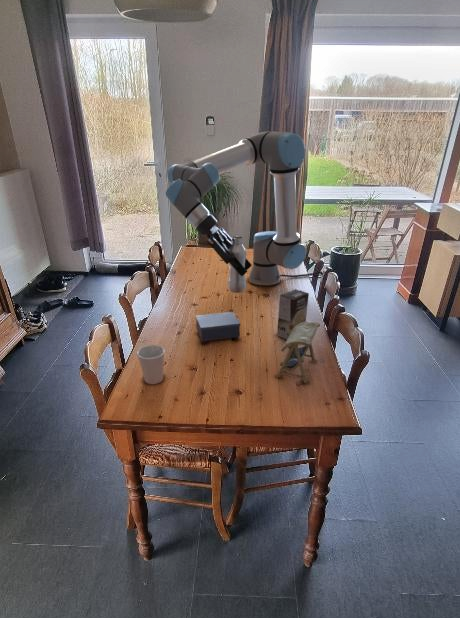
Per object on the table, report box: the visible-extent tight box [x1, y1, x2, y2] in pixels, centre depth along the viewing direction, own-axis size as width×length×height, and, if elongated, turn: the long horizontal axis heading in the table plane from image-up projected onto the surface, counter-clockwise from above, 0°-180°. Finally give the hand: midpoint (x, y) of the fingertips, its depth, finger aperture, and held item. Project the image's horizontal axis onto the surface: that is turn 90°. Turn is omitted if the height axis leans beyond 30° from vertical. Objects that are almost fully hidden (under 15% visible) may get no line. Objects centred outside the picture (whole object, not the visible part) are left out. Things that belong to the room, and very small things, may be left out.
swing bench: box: [276, 320, 321, 384], centre depth 137 cm, size 15×10×15 cm, turn 158°
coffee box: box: [276, 288, 310, 341], centre depth 158 cm, size 9×6×16 cm
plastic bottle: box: [227, 235, 247, 294], centre depth 156 cm, size 6×7×20 cm
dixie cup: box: [136, 344, 166, 385], centre depth 134 cm, size 8×8×10 cm
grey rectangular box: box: [194, 311, 241, 345], centre depth 159 cm, size 14×10×7 cm
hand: (246, 270), depth 156 cm, fingers closed on plastic bottle, 6 cm apart
